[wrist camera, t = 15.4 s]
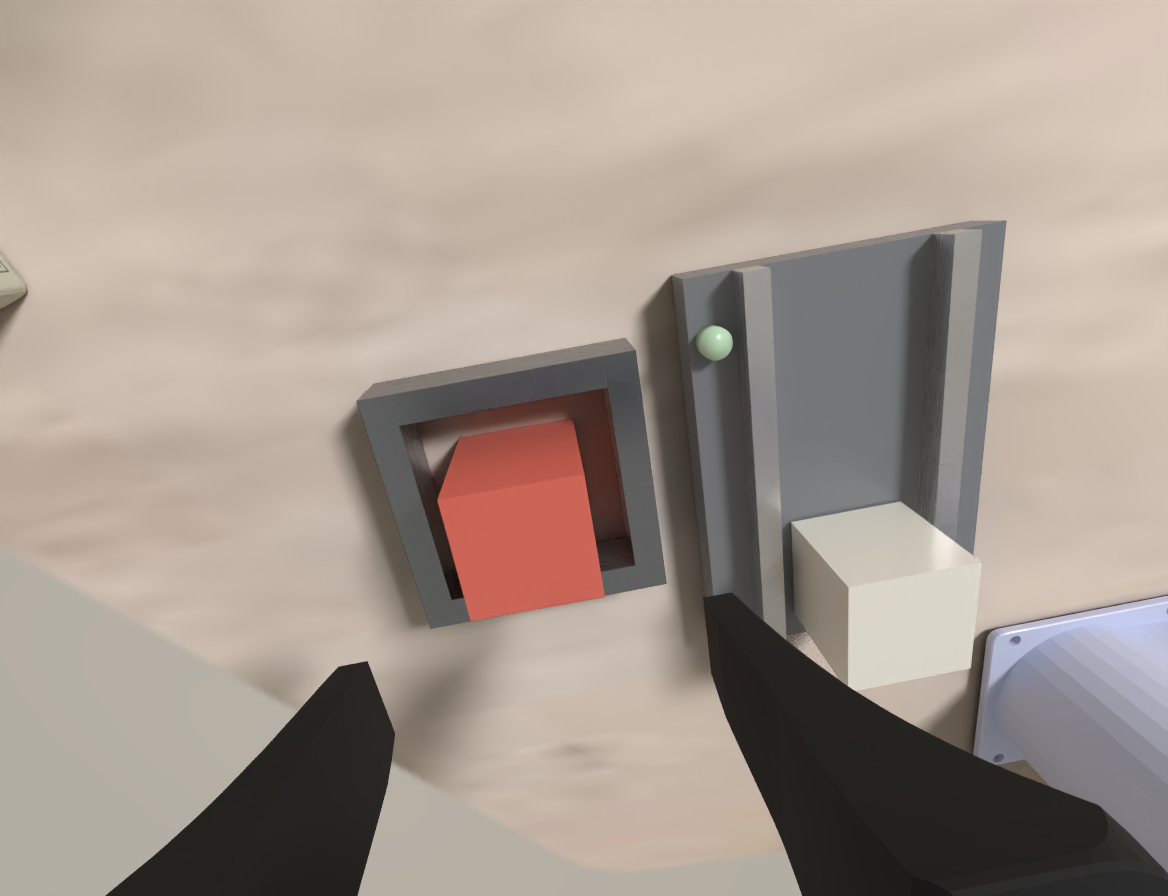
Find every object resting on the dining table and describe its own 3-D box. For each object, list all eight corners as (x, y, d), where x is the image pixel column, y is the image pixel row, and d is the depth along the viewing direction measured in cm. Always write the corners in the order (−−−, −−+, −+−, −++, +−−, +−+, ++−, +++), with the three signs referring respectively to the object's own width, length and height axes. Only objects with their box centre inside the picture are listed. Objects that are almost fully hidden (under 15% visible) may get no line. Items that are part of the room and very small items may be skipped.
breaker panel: (971, 220, 19) (1032, 220, 17) (943, 578, 24) (987, 615, 22) (671, 275, 19) (691, 282, 16) (707, 623, 24) (727, 666, 21)
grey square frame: (625, 338, 19) (635, 349, 17) (655, 553, 22) (666, 583, 21) (373, 383, 19) (356, 401, 17) (439, 595, 22) (430, 628, 20)
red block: (572, 417, 20) (584, 474, 16) (589, 517, 22) (605, 596, 17) (459, 437, 20) (436, 500, 15) (484, 536, 22) (470, 620, 17)
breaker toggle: (900, 501, 21) (982, 561, 17) (896, 593, 22) (970, 667, 18) (791, 521, 21) (848, 587, 17) (794, 613, 22) (847, 692, 18)
